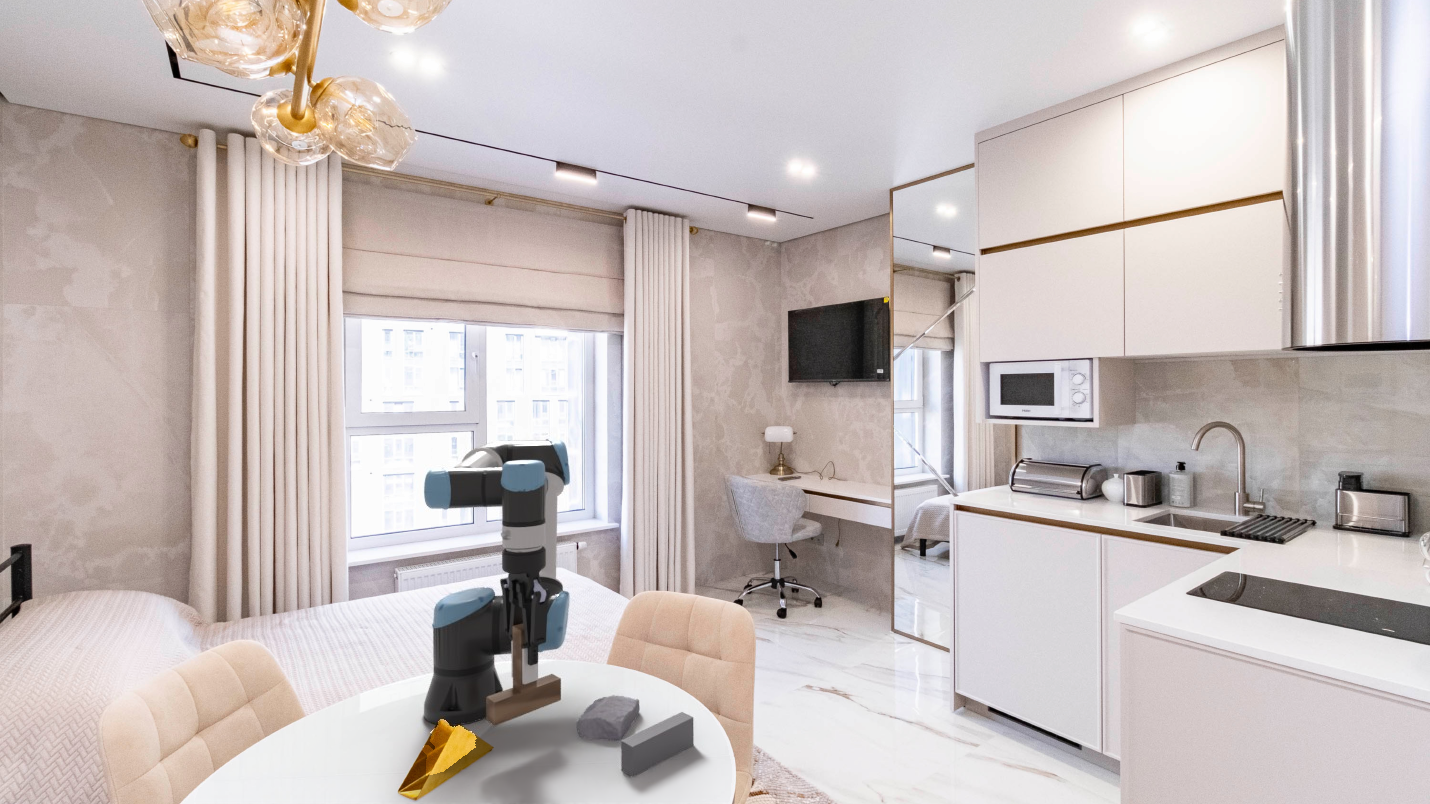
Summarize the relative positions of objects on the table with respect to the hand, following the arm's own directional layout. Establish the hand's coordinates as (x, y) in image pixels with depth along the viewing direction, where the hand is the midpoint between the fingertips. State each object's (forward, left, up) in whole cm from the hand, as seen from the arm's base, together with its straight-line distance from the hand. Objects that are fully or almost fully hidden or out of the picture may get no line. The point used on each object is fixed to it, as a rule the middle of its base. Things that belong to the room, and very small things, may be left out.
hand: (524, 678), depth 115 cm
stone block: (+3, +16, -13) cm, 21 cm away
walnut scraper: (0, 0, -6) cm, 6 cm away
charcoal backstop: (+19, +15, -13) cm, 27 cm away
